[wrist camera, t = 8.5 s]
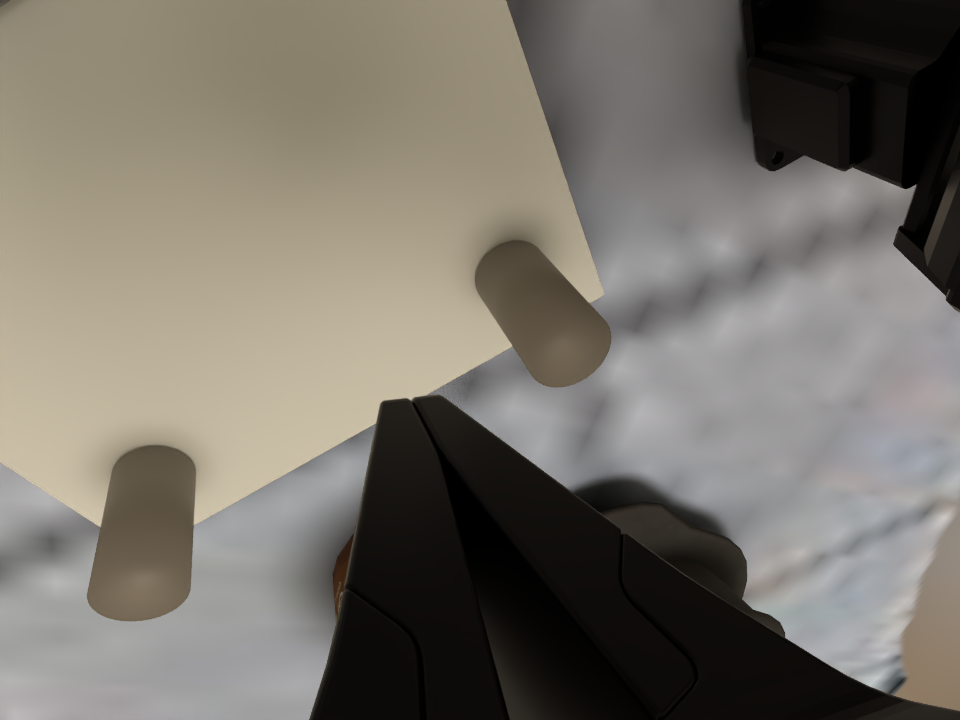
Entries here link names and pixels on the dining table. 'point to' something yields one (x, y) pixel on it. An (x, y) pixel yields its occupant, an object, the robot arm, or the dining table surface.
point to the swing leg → (3, 2)
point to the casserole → (691, 552)
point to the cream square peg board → (260, 247)
